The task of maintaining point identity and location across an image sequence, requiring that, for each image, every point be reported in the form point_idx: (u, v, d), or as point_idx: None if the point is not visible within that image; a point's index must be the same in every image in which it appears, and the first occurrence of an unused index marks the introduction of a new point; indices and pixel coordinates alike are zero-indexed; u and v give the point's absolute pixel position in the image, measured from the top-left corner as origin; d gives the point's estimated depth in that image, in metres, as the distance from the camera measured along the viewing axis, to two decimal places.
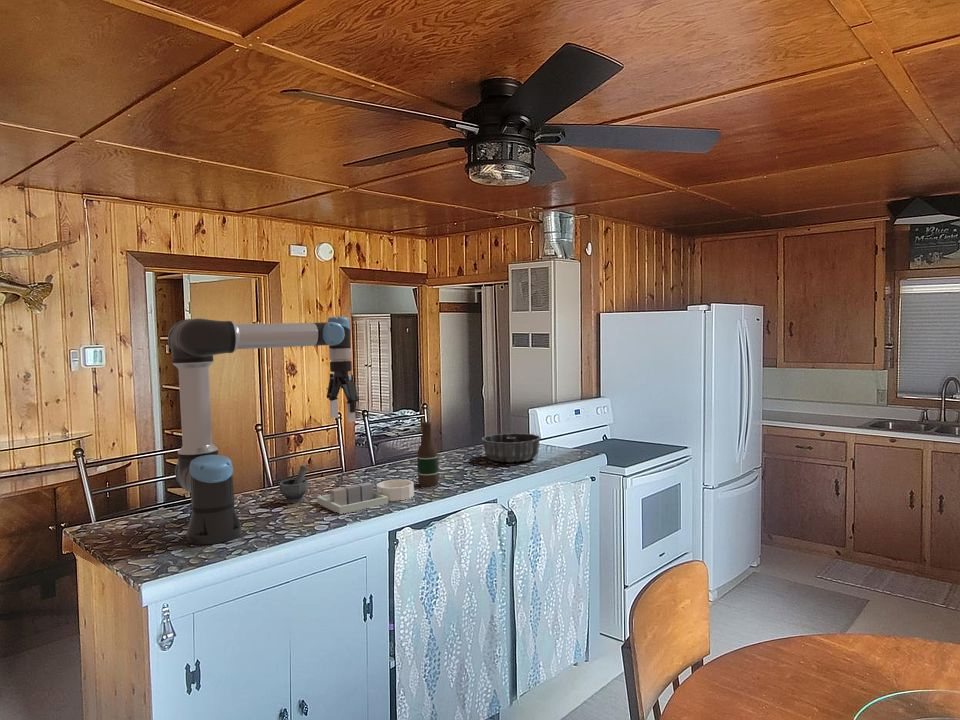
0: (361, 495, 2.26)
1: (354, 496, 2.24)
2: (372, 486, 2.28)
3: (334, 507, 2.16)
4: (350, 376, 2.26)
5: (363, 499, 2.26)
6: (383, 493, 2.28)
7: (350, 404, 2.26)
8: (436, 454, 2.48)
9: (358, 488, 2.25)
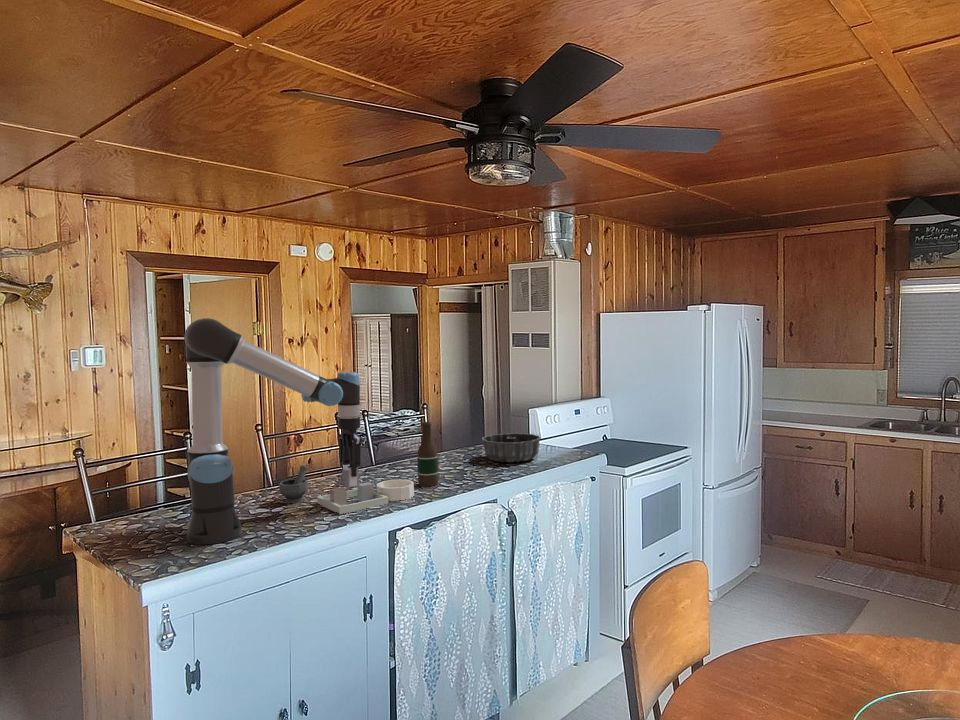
0: (361, 495, 2.26)
1: None
2: (372, 486, 2.28)
3: (334, 507, 2.16)
4: (358, 440, 2.19)
5: (363, 499, 2.26)
6: (383, 493, 2.28)
7: (351, 468, 2.22)
8: (436, 454, 2.48)
9: None
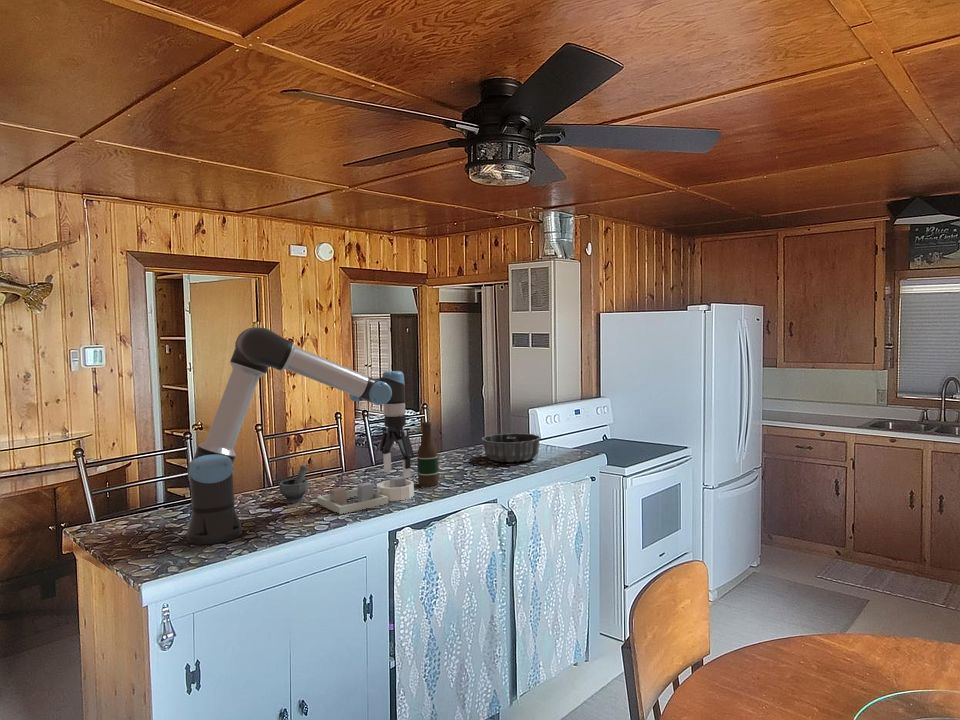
0: (361, 495, 2.26)
1: None
2: (372, 486, 2.28)
3: (334, 507, 2.16)
4: (406, 432, 2.26)
5: (363, 499, 2.26)
6: (383, 493, 2.28)
7: (405, 460, 2.25)
8: (436, 454, 2.48)
9: (403, 479, 2.32)
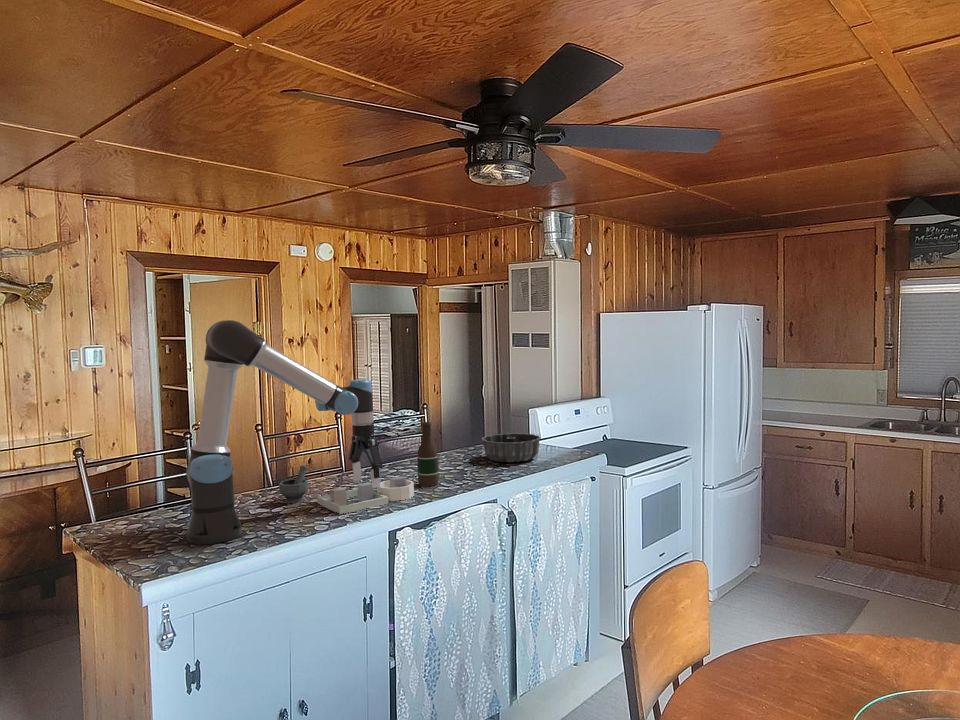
0: (361, 495, 2.26)
1: None
2: None
3: (334, 507, 2.16)
4: (373, 441, 2.22)
5: (363, 499, 2.26)
6: (383, 493, 2.28)
7: (374, 470, 2.21)
8: (436, 454, 2.48)
9: (403, 479, 2.32)
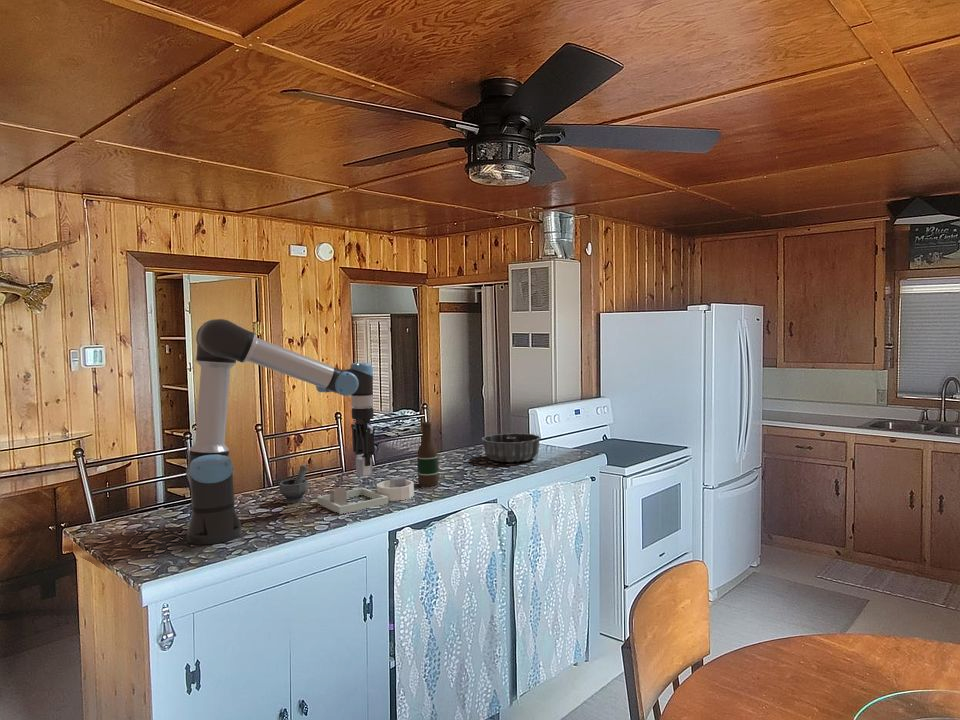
0: (359, 469, 2.26)
1: None
2: (370, 460, 2.27)
3: (334, 507, 2.16)
4: (372, 430, 2.22)
5: (361, 473, 2.25)
6: (383, 493, 2.28)
7: (365, 457, 2.25)
8: (436, 454, 2.48)
9: (403, 479, 2.32)
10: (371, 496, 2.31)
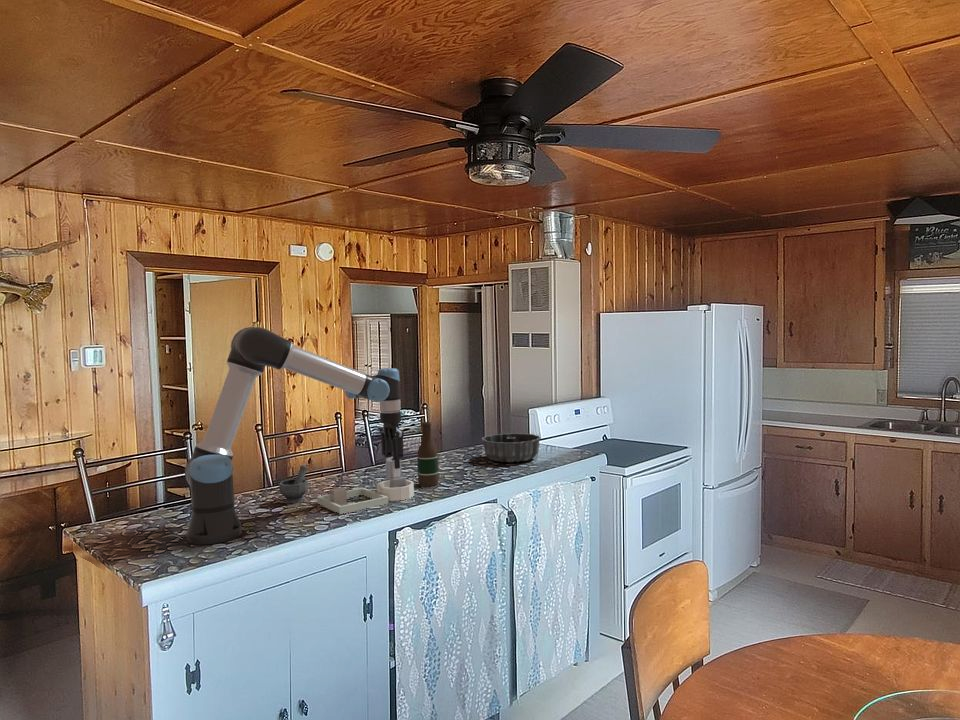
0: (389, 471, 2.32)
1: None
2: (400, 462, 2.34)
3: (334, 507, 2.16)
4: (401, 433, 2.29)
5: (391, 474, 2.32)
6: (383, 493, 2.28)
7: (394, 460, 2.32)
8: (436, 454, 2.48)
9: (403, 480, 2.32)
10: (371, 496, 2.31)
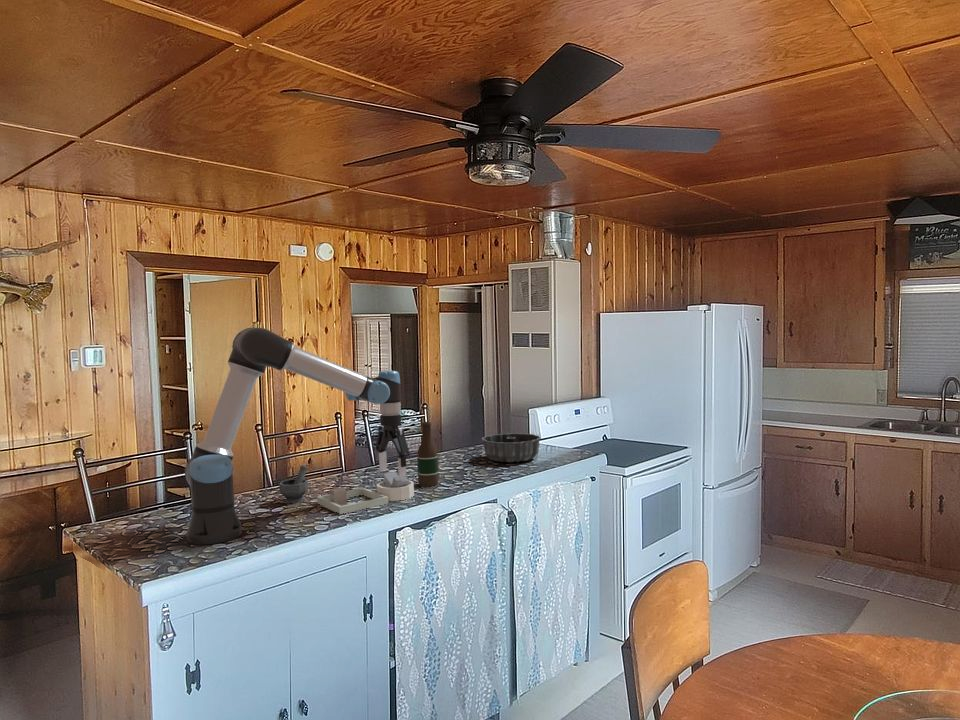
0: (388, 481, 2.33)
1: None
2: (395, 473, 2.37)
3: (334, 507, 2.16)
4: (401, 431, 2.28)
5: (390, 482, 2.32)
6: (383, 493, 2.28)
7: (401, 459, 2.27)
8: (436, 454, 2.48)
9: (406, 482, 2.30)
10: (371, 496, 2.31)
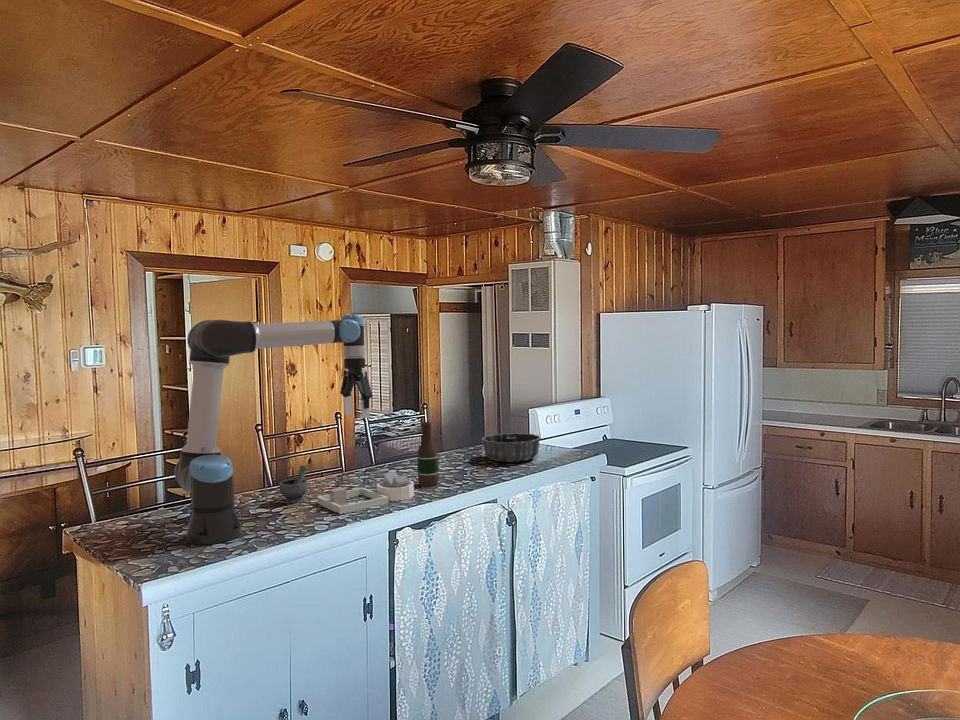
0: (388, 481, 2.33)
1: None
2: (395, 473, 2.37)
3: (334, 507, 2.16)
4: (364, 373, 2.30)
5: (390, 482, 2.32)
6: (383, 493, 2.28)
7: (364, 400, 2.30)
8: (436, 454, 2.48)
9: (406, 482, 2.30)
10: (371, 496, 2.31)
